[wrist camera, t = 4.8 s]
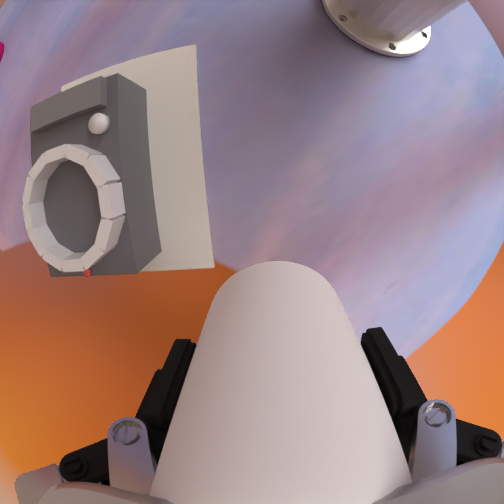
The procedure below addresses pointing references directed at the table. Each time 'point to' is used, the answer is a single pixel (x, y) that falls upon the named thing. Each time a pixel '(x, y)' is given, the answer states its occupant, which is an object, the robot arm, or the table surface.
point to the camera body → (92, 180)
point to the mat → (173, 154)
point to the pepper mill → (1, 49)
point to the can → (279, 402)
